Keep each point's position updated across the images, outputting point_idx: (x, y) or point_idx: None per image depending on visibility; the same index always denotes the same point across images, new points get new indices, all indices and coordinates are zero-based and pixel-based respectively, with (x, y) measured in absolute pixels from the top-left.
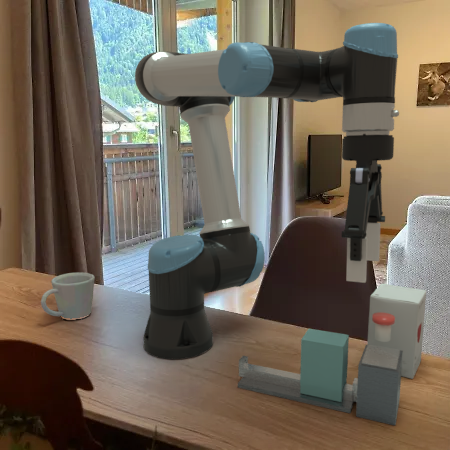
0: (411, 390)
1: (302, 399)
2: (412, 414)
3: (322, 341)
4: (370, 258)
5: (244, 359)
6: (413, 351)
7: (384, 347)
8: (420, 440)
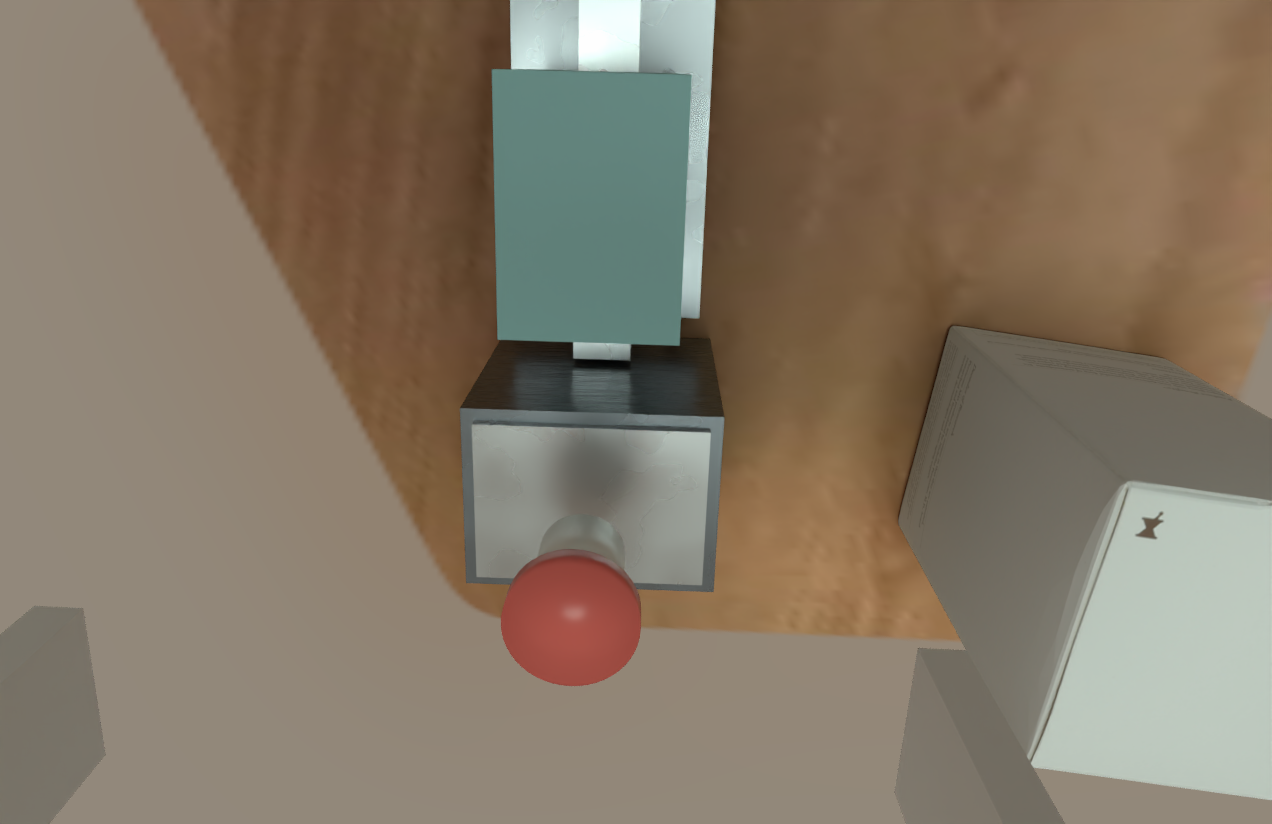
0: (797, 520)
1: None
2: None
3: (519, 209)
4: (912, 736)
5: None
6: (933, 586)
7: (701, 514)
8: (457, 551)
